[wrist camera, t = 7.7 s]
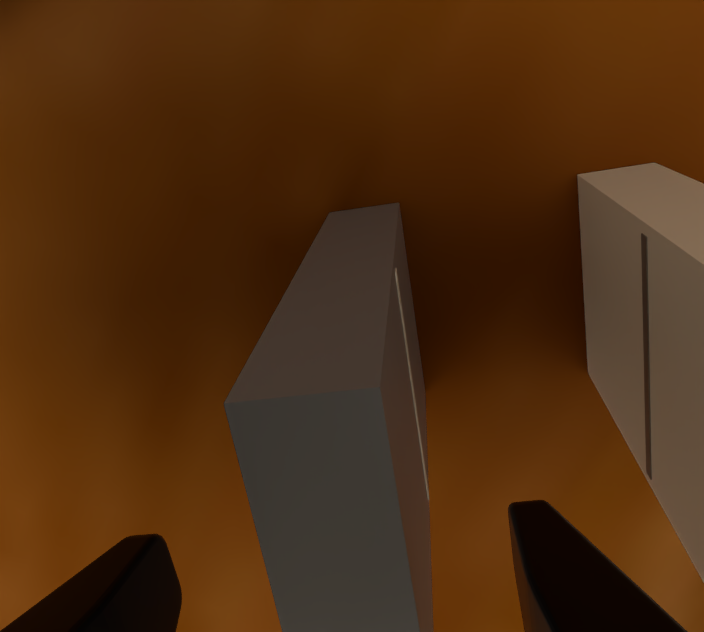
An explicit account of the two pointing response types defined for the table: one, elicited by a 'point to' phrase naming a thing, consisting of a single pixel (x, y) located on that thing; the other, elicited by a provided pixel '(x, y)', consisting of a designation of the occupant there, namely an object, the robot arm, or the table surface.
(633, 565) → the table surface
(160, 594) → the robot arm
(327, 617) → the grey domino block
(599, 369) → the domino
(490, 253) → the table surface
